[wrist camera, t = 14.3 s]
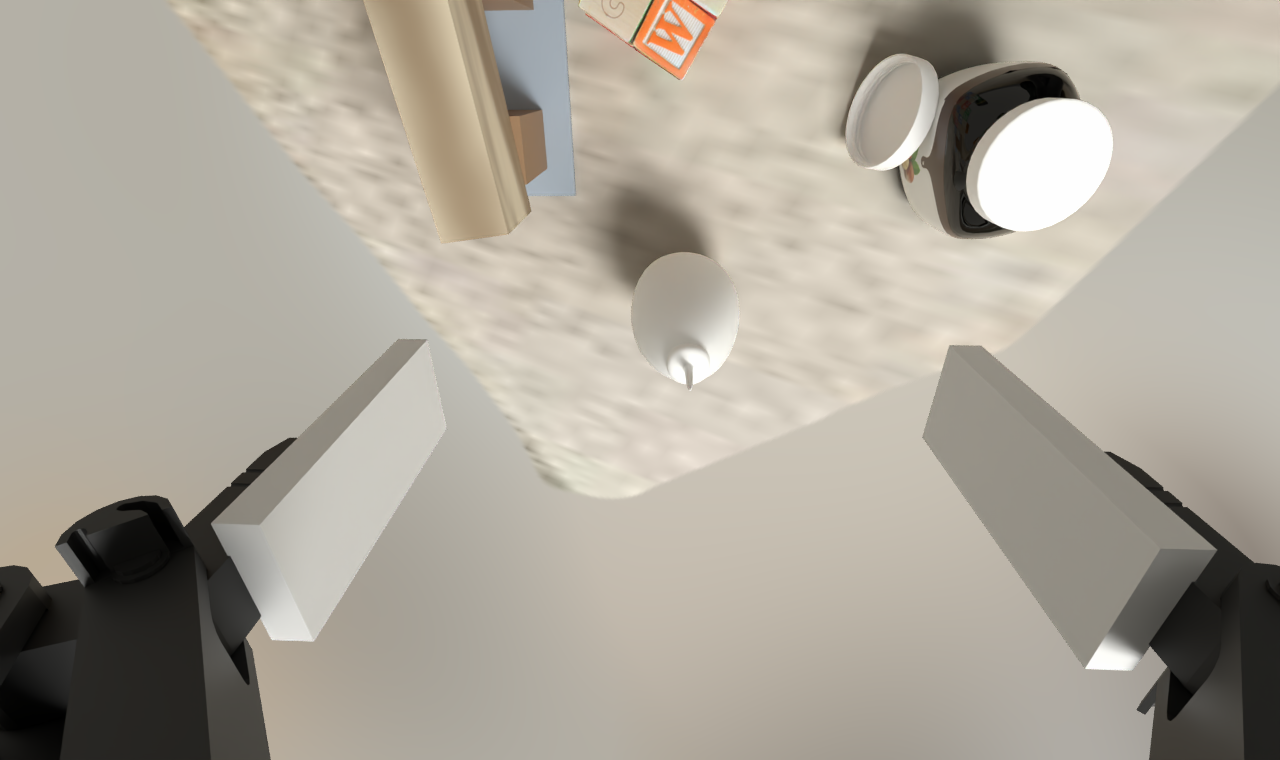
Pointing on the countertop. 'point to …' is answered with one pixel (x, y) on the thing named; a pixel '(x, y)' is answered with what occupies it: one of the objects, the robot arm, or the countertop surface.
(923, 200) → the spread jar
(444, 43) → the bar
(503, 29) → the build board
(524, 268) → the countertop surface
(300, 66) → the countertop surface
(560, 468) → the countertop surface
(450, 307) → the countertop surface
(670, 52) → the stack of blocks
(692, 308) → the sauce bottle
